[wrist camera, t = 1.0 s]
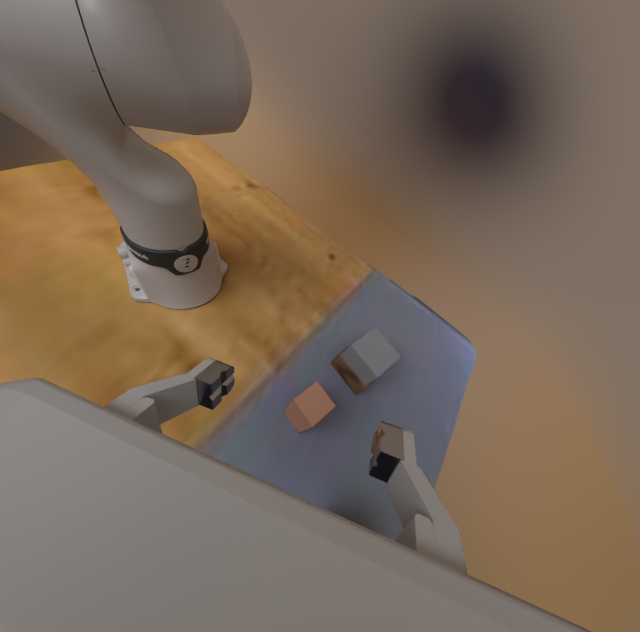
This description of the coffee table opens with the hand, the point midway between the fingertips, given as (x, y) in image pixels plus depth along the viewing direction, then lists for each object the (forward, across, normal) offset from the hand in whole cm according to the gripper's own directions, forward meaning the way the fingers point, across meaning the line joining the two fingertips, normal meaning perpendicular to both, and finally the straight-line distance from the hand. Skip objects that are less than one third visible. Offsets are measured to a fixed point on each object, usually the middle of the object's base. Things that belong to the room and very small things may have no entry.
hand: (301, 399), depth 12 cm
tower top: (+30, -4, +17) cm, 34 cm away
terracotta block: (+19, +4, +25) cm, 32 cm away
